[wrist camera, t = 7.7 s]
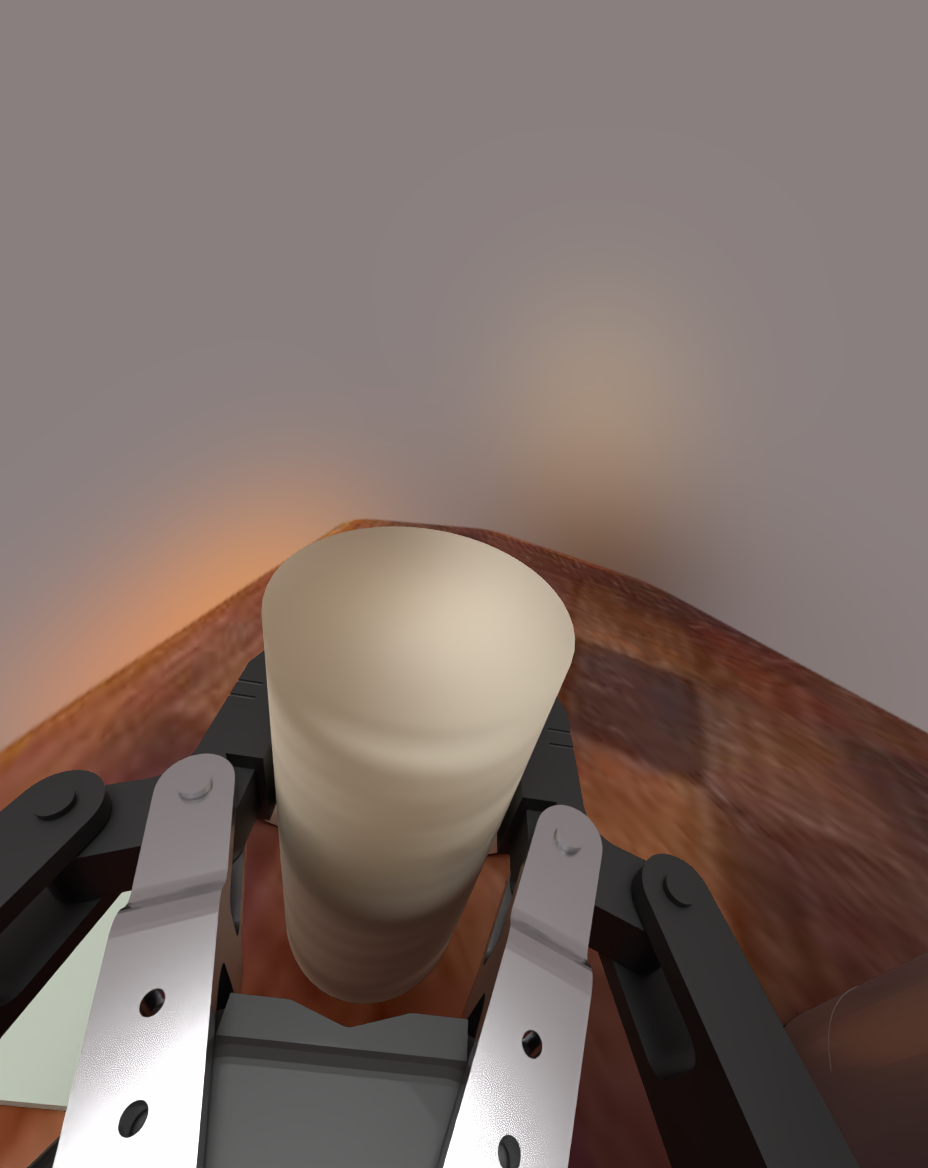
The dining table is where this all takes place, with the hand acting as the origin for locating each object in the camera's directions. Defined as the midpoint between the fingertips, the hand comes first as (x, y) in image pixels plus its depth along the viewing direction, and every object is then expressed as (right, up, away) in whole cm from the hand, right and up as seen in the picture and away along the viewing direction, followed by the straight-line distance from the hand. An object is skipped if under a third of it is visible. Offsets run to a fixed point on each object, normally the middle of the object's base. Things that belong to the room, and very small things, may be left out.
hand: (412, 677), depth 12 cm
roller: (-1, -7, +2) cm, 7 cm away
